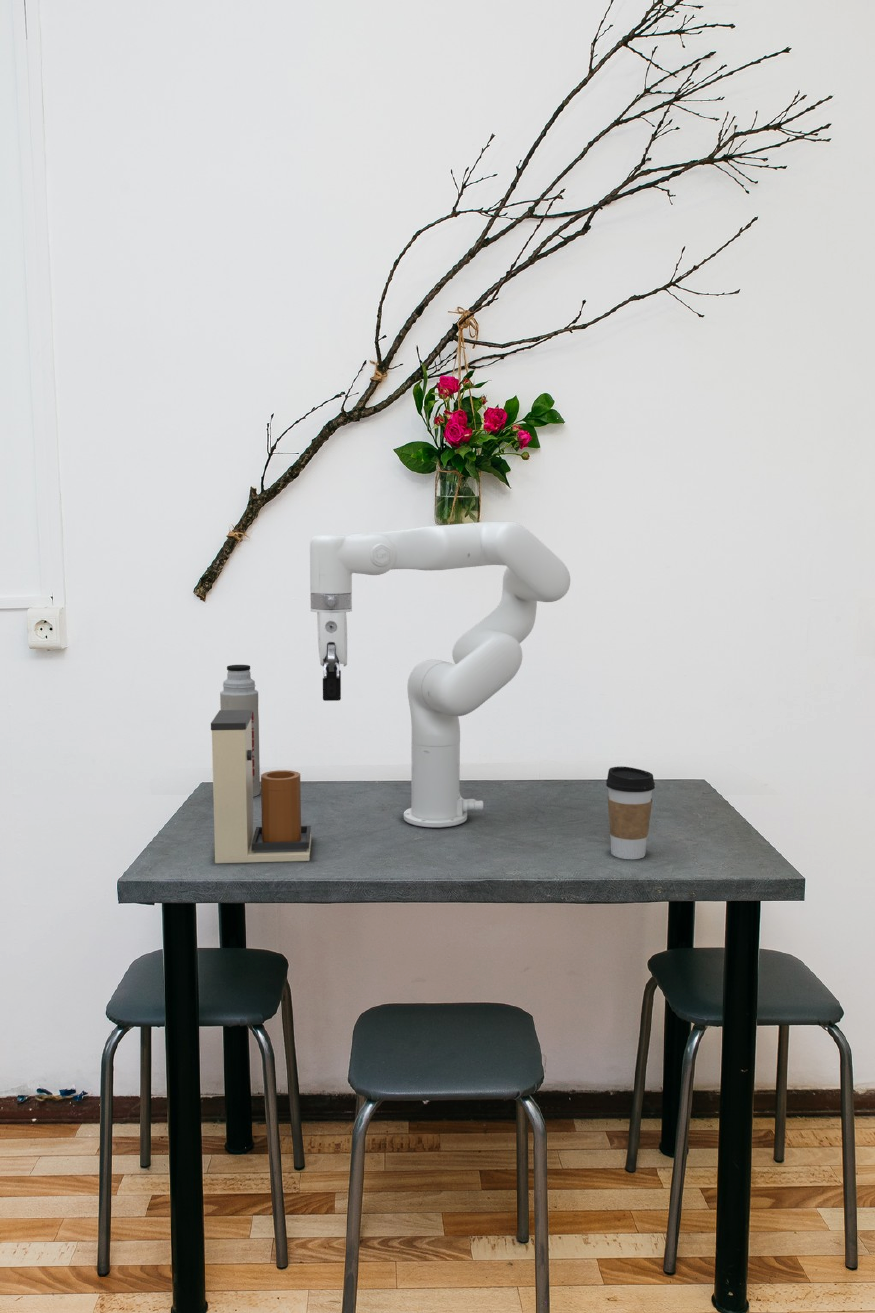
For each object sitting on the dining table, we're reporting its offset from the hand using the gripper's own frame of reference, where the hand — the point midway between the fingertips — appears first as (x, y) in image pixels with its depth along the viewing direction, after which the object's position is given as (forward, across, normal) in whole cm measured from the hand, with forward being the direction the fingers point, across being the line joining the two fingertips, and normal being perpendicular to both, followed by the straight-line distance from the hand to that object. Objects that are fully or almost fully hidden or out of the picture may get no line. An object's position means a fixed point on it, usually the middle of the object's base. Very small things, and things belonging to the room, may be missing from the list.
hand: (332, 695), depth 182 cm
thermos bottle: (+26, +30, +20) cm, 45 cm away
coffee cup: (+26, -16, -52) cm, 61 cm away
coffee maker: (+26, -9, +12) cm, 30 cm away
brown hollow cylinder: (+24, -9, +9) cm, 28 cm away
